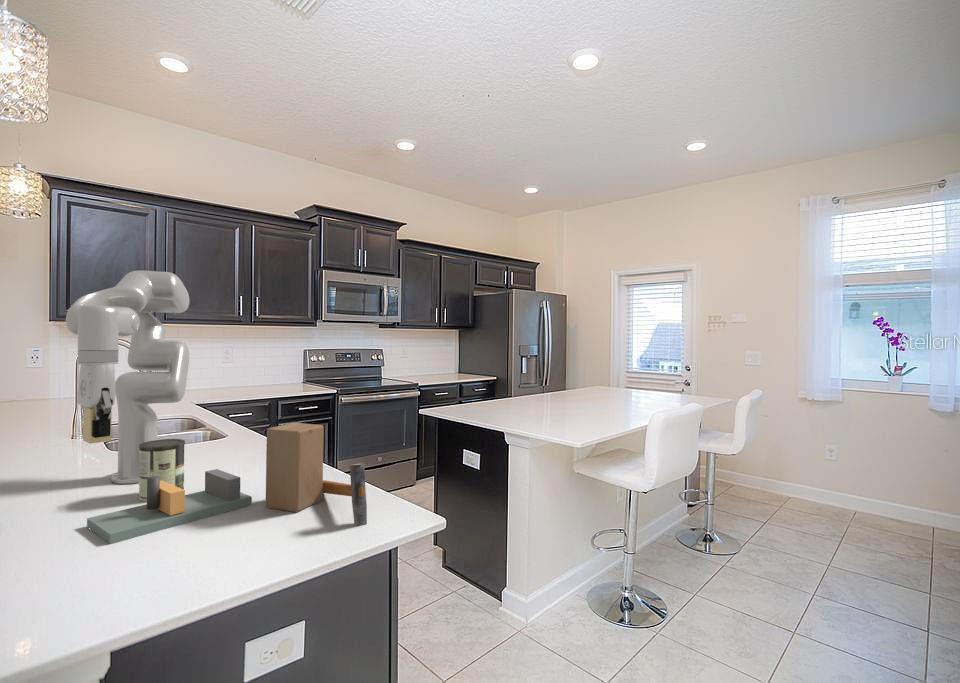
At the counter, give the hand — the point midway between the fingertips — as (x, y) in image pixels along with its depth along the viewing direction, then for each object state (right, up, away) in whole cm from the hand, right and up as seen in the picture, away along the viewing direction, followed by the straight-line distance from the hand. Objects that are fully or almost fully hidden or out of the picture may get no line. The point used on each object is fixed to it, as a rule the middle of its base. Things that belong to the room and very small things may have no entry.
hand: (97, 434), depth 113 cm
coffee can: (+5, -20, +15) cm, 25 cm away
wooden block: (+42, -20, +11) cm, 48 cm away
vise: (+17, -20, +1) cm, 26 cm away
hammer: (+54, -21, +10) cm, 58 cm away
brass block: (0, -2, 0) cm, 2 cm away
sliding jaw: (+16, -17, -1) cm, 23 cm away
